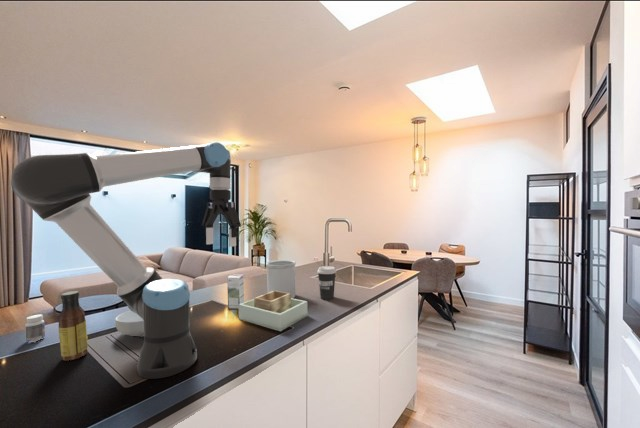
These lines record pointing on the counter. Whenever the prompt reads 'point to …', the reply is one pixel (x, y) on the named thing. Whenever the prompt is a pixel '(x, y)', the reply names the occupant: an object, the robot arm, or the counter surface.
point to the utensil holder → (281, 276)
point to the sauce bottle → (72, 327)
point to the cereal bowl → (130, 324)
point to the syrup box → (235, 291)
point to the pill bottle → (35, 328)
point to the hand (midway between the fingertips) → (220, 245)
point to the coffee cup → (326, 282)
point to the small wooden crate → (274, 301)
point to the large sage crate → (273, 314)
